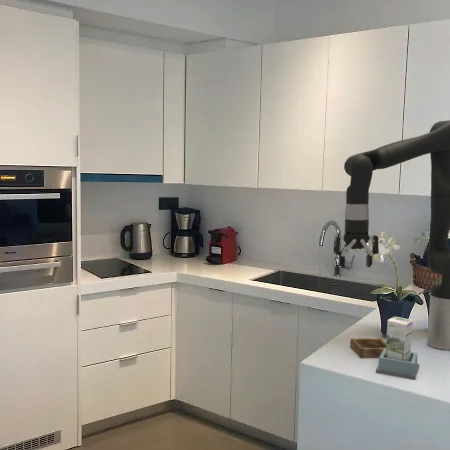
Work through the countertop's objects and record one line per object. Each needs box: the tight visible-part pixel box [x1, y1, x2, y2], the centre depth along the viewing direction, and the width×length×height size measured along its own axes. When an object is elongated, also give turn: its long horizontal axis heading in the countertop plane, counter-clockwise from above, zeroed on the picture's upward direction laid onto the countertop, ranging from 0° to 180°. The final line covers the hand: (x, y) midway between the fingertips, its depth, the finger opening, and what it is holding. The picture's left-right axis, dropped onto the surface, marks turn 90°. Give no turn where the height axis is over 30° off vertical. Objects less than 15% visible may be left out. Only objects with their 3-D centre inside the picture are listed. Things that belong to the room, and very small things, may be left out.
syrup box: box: [385, 316, 414, 362], centre depth 163 cm, size 6×6×14 cm
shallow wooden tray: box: [349, 337, 386, 359], centre depth 179 cm, size 10×10×3 cm
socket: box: [375, 348, 420, 381], centre depth 164 cm, size 11×11×4 cm
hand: (355, 267), depth 179 cm, fingers open, 8 cm apart
